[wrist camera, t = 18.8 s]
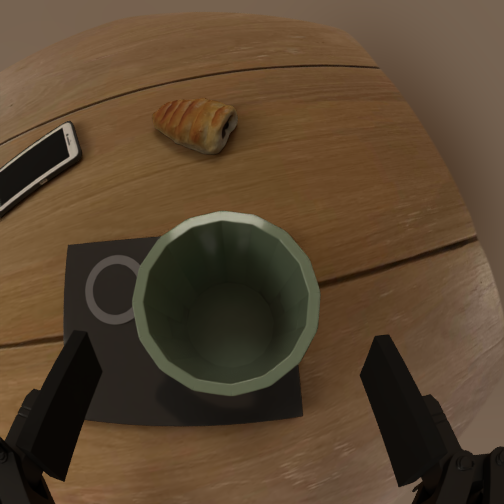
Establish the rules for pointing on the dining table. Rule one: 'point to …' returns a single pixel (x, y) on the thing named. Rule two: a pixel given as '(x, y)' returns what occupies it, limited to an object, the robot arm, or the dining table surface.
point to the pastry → (197, 123)
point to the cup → (226, 303)
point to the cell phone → (38, 165)
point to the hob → (136, 356)
